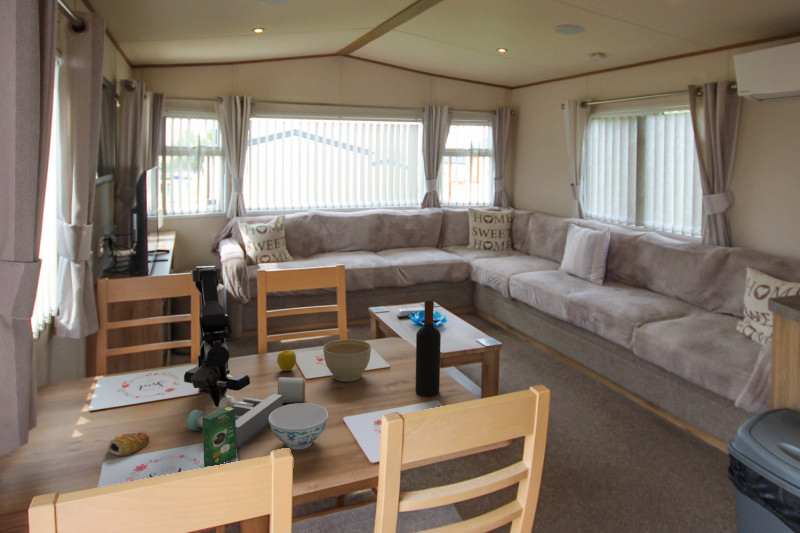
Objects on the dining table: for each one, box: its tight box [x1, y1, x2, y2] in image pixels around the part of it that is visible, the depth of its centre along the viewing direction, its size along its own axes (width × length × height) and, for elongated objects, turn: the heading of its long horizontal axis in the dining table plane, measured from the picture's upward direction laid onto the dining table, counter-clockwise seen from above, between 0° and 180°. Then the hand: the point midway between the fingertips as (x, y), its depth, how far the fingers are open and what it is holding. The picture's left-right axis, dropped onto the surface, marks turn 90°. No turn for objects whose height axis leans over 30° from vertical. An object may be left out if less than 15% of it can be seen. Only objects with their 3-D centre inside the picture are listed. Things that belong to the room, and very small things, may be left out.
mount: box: [232, 393, 283, 450], centre depth 155 cm, size 11×21×6 cm, turn 161°
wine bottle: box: [414, 298, 442, 398], centre depth 177 cm, size 8×8×30 cm
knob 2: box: [218, 394, 254, 410], centre depth 162 cm, size 9×5×5 cm, turn 71°
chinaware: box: [269, 402, 329, 450], centre depth 146 cm, size 15×15×8 cm
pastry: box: [107, 431, 150, 457], centre depth 144 cm, size 9×7×4 cm
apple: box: [276, 349, 297, 372], centre depth 197 cm, size 6×6×8 cm
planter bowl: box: [322, 339, 372, 383], centre depth 191 cm, size 16×16×11 cm
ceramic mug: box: [277, 376, 306, 404], centre depth 173 cm, size 11×8×8 cm
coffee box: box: [202, 406, 238, 468], centre depth 136 cm, size 8×3×13 cm, turn 147°
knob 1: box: [186, 409, 207, 432], centre depth 152 cm, size 9×5×5 cm, turn 71°
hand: (218, 406), depth 164 cm, fingers closed
